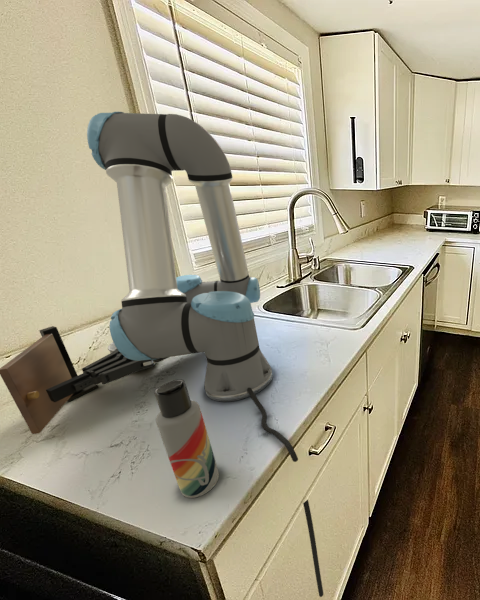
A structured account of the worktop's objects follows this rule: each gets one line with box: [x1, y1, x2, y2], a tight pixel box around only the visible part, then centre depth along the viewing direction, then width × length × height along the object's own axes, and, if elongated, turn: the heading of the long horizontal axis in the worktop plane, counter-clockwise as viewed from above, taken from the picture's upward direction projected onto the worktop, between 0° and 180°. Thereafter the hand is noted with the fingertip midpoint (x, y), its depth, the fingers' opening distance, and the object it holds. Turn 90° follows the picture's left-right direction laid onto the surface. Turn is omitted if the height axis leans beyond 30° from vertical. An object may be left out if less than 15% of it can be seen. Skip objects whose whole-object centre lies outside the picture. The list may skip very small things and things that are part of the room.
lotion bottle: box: [154, 379, 220, 499], centre depth 51 cm, size 6×6×20 cm
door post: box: [38, 325, 99, 403], centre depth 76 cm, size 5×6×17 cm
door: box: [0, 334, 73, 435], centre depth 68 cm, size 15×2×15 cm, turn 22°
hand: (50, 396), depth 66 cm, fingers closed
